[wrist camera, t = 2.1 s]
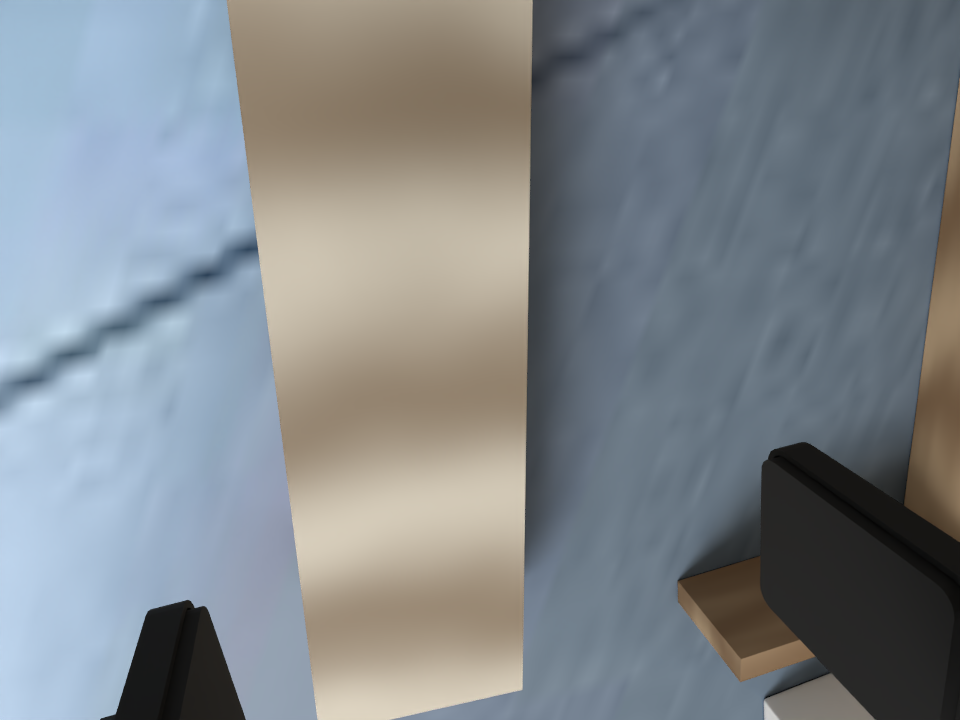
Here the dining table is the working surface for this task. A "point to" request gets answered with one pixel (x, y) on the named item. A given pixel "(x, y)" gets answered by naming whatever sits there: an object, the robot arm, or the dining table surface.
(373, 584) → the ash plank
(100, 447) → the dining table surface
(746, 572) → the oak board pocket
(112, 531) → the dining table surface
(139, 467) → the dining table surface
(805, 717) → the milk
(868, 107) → the dining table surface
